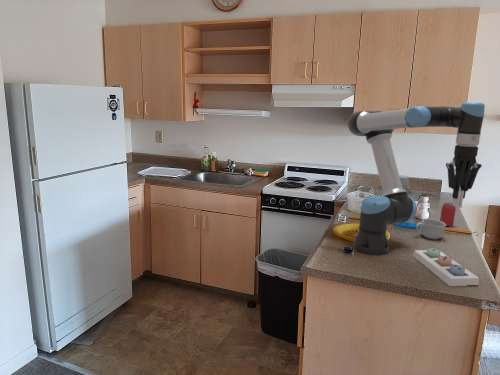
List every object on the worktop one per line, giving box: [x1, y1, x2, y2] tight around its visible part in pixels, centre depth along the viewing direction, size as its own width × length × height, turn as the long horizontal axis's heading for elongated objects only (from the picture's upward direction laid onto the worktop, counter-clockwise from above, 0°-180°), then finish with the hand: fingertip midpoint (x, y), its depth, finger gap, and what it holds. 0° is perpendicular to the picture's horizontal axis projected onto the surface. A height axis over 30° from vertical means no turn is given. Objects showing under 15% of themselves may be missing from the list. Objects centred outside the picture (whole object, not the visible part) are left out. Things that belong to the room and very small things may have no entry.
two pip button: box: [449, 264, 466, 276], centre depth 145 cm, size 5×5×3 cm
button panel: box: [413, 249, 480, 287], centre depth 153 cm, size 11×26×3 cm, turn 6°
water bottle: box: [399, 174, 411, 195], centre depth 211 cm, size 9×8×25 cm
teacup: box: [415, 218, 446, 240], centre depth 189 cm, size 14×11×8 cm
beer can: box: [439, 202, 457, 227], centre depth 207 cm, size 7×7×12 cm
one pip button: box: [426, 247, 440, 258], centre depth 160 cm, size 5×5×3 cm
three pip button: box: [437, 255, 453, 267], centre depth 153 cm, size 5×5×3 cm
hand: (456, 206), depth 147 cm, fingers closed
